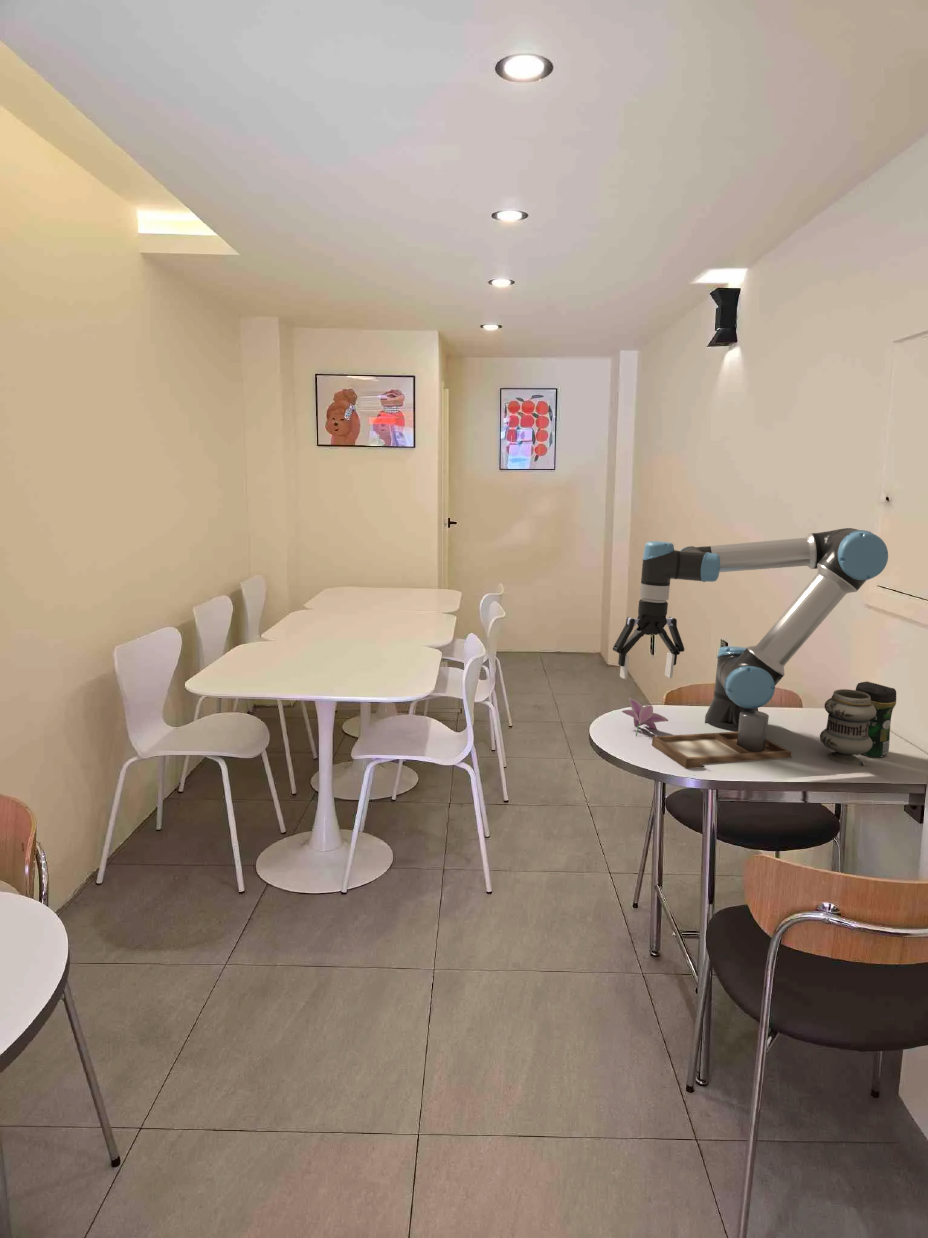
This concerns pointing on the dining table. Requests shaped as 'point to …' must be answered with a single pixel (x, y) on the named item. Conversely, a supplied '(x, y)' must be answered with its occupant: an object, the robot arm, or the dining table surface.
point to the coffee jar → (879, 716)
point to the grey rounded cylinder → (752, 730)
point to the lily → (643, 715)
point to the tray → (712, 749)
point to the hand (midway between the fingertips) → (646, 677)
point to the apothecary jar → (848, 725)
